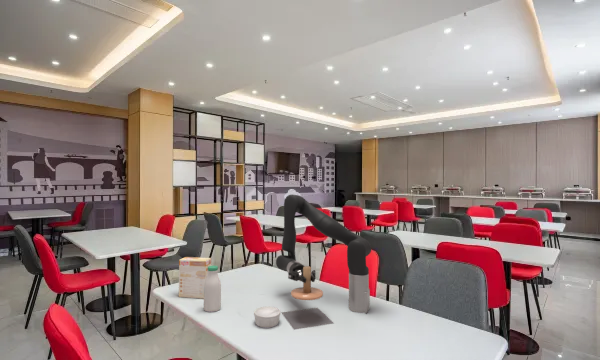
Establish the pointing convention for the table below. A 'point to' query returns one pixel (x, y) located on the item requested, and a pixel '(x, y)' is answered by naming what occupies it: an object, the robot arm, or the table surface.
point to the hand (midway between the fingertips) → (309, 280)
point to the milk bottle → (212, 290)
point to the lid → (307, 288)
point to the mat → (306, 318)
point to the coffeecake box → (193, 276)
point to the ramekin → (267, 316)
